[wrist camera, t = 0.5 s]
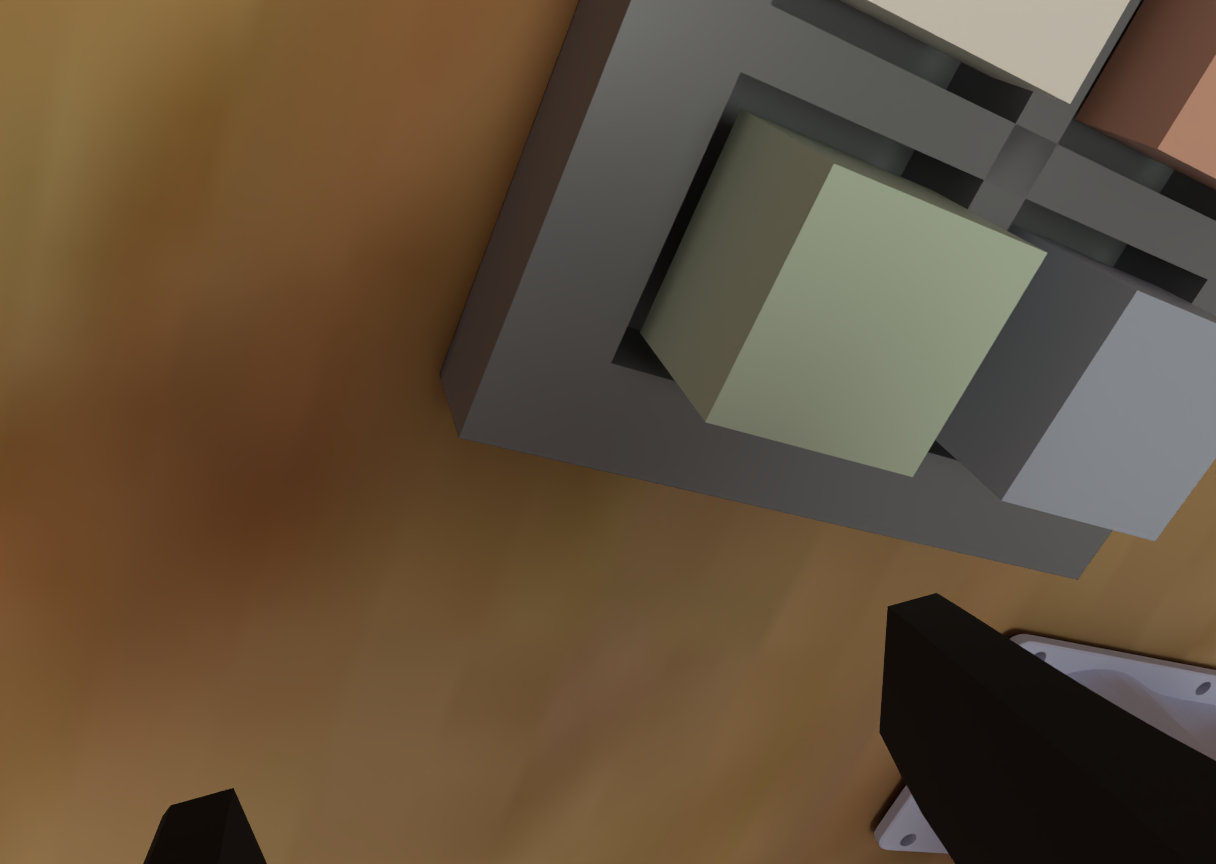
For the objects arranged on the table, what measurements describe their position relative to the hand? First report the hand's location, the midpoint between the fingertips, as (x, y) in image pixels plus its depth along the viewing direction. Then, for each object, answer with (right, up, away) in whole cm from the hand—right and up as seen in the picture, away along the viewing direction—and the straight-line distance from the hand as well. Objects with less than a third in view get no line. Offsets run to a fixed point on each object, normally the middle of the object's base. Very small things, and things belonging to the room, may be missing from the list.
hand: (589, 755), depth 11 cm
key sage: (+3, +6, +6) cm, 10 cm away
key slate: (+9, +5, +9) cm, 13 cm away
